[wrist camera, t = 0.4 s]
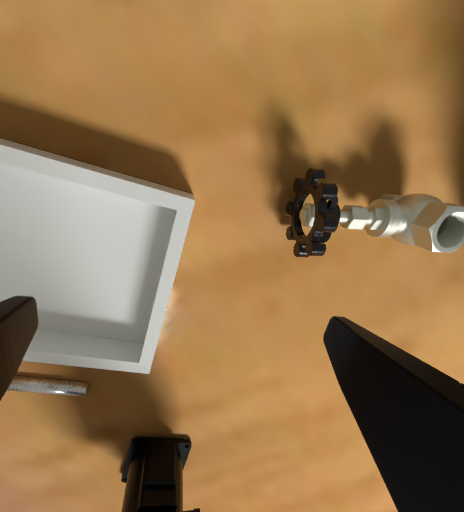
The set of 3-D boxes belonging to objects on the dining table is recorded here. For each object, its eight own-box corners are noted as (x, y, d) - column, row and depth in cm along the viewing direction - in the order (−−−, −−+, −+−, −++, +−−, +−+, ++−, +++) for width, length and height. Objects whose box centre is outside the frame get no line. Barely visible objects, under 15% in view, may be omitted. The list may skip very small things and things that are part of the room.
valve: (416, 176, 24) (291, 166, 22) (495, 183, 18) (334, 170, 16) (395, 246, 26) (280, 243, 24) (460, 273, 20) (314, 273, 18)
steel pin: (89, 381, 26) (87, 383, 25) (85, 395, 25) (83, 397, 24) (5, 373, 24) (-1, 375, 23) (-1, 388, 24) (-7, 390, 22)
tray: (152, 349, 25) (149, 373, 22) (-39, 324, 21) (-73, 350, 18) (193, 194, 21) (195, 200, 18) (-37, 127, 17) (-80, 121, 14)
